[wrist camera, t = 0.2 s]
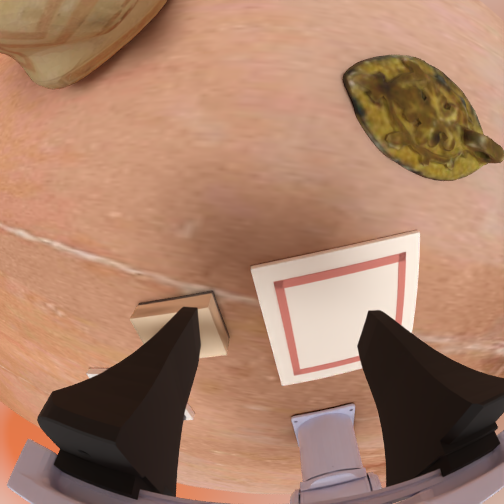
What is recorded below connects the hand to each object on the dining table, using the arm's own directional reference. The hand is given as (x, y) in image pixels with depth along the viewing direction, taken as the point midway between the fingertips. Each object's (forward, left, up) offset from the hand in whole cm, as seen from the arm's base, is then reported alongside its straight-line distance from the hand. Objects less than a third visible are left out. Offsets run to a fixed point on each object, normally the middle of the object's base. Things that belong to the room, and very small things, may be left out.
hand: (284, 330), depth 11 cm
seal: (+7, -14, -11) cm, 19 cm away
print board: (-9, -5, -10) cm, 14 cm away
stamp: (-6, +9, -10) cm, 15 cm away
